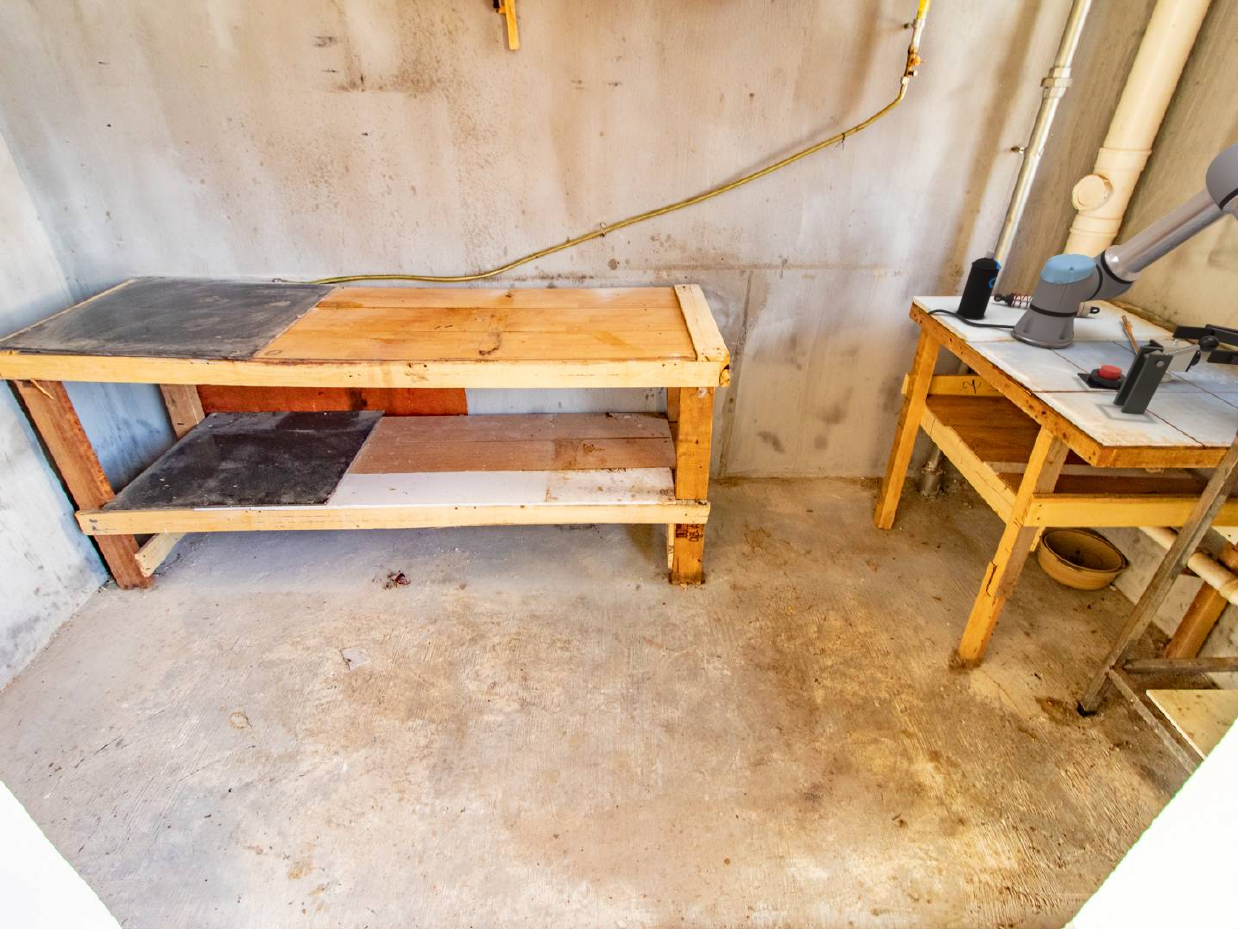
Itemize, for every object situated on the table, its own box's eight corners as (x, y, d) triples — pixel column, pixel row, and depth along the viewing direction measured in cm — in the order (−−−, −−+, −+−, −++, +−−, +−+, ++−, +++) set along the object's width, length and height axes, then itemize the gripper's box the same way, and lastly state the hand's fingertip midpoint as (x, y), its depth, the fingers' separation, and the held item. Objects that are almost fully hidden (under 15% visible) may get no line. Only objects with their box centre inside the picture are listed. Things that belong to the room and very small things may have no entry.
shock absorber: (995, 295, 211) (1102, 310, 201) (996, 286, 214) (1103, 300, 203) (990, 307, 215) (1096, 321, 205) (992, 298, 218) (1096, 311, 207)
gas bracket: (1138, 408, 155) (1171, 346, 146) (1153, 422, 149) (1188, 359, 141) (1098, 404, 156) (1127, 343, 148) (1111, 418, 151) (1142, 355, 142)
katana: (1136, 366, 178) (1140, 357, 176) (1119, 320, 203) (1123, 312, 202) (1142, 367, 177) (1146, 358, 176) (1124, 321, 203) (1128, 312, 201)
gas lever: (1213, 345, 143) (1213, 331, 142) (1222, 352, 140) (1223, 337, 139) (1142, 364, 148) (1141, 350, 146) (1150, 370, 145) (1149, 356, 143)
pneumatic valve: (1184, 389, 164) (1208, 345, 158) (1134, 386, 165) (1156, 341, 159) (1171, 380, 169) (1195, 336, 162) (1123, 376, 170) (1144, 333, 163)
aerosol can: (956, 317, 204) (977, 252, 193) (955, 309, 210) (975, 246, 199) (985, 321, 202) (1007, 256, 191) (983, 312, 208) (1004, 249, 197)
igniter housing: (1116, 382, 167) (1123, 369, 165) (1131, 396, 160) (1138, 383, 158) (1074, 378, 168) (1080, 366, 166) (1088, 392, 162) (1094, 379, 160)
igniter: (1113, 373, 164) (1117, 365, 163) (1121, 380, 161) (1125, 373, 159) (1094, 371, 165) (1098, 364, 164) (1102, 379, 161) (1106, 371, 160)
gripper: (1333, 393, 131) (1217, 384, 134) (1254, 345, 152) (1155, 337, 154) (1357, 359, 127) (1236, 350, 130) (1272, 314, 148) (1170, 307, 150)
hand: (1192, 343), depth 142 cm, fingers open, 13 cm apart
